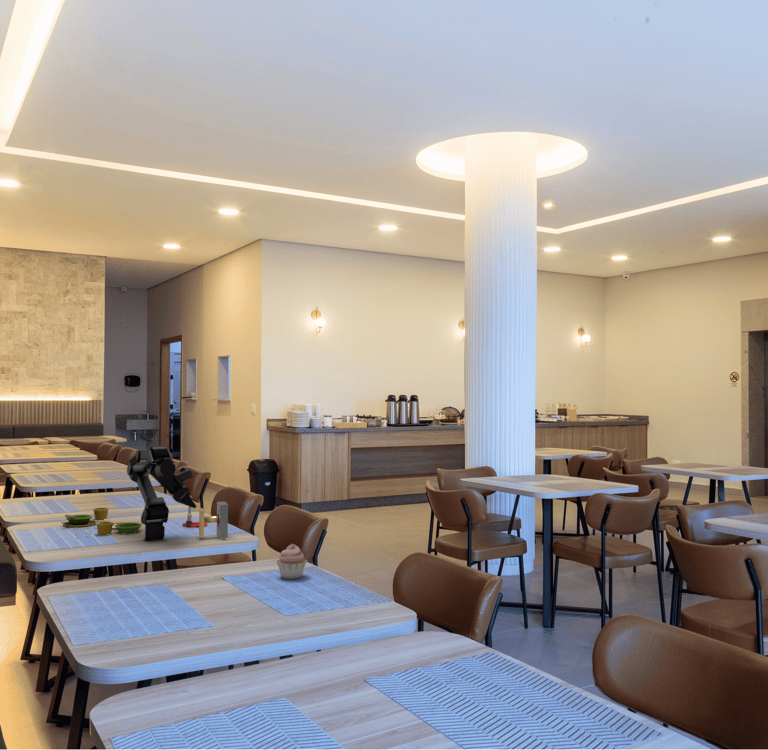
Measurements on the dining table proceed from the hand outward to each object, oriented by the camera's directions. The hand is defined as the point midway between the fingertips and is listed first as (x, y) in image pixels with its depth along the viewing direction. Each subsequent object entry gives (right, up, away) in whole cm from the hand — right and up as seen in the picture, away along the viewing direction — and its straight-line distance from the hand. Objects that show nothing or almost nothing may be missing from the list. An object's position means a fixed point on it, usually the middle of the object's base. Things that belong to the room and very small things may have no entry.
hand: (193, 505), depth 269 cm
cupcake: (+44, -12, -56) cm, 72 cm away
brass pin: (+7, -12, +2) cm, 14 cm away
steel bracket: (+10, -13, +3) cm, 17 cm away
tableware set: (-43, -14, +21) cm, 50 cm away
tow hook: (-6, -14, +27) cm, 31 cm away
